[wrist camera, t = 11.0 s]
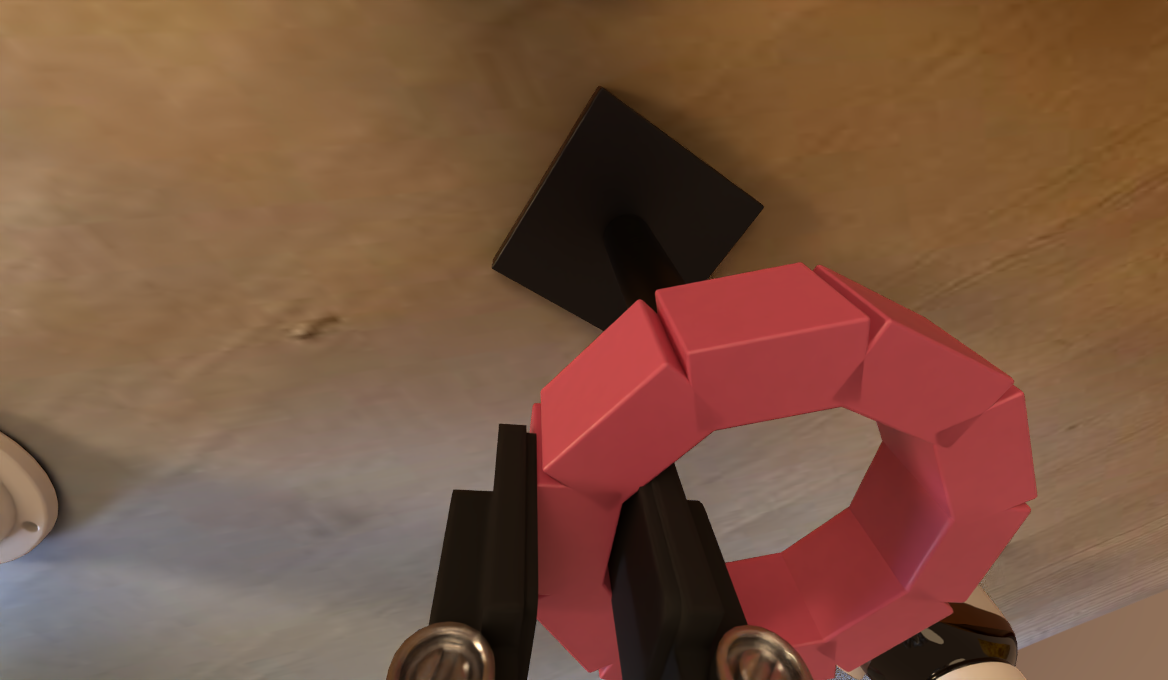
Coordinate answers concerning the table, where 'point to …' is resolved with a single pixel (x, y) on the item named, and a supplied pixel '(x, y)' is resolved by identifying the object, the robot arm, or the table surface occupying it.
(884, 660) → the spread jar
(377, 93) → the table surface
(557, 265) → the stand
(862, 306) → the ring
